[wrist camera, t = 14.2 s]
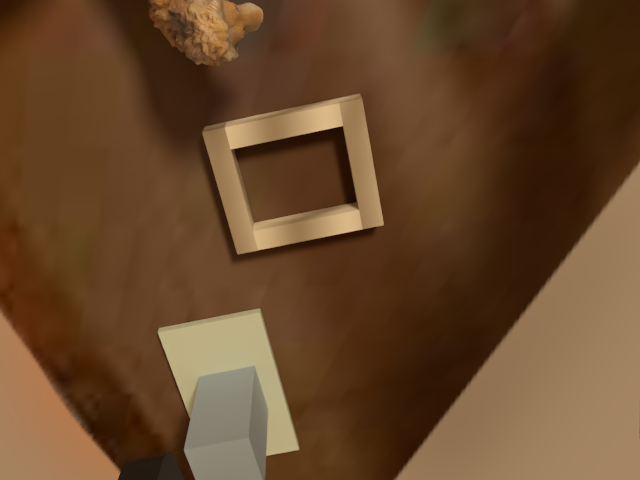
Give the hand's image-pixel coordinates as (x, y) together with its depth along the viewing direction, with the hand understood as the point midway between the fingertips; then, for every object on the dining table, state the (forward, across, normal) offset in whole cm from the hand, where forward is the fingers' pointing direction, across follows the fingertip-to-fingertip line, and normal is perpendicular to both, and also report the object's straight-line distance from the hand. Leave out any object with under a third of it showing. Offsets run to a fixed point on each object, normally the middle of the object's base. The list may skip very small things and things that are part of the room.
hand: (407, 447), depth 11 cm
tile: (+32, +12, +22) cm, 41 cm away
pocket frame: (+33, +3, +6) cm, 33 cm away
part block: (+32, +12, +22) cm, 41 cm away
